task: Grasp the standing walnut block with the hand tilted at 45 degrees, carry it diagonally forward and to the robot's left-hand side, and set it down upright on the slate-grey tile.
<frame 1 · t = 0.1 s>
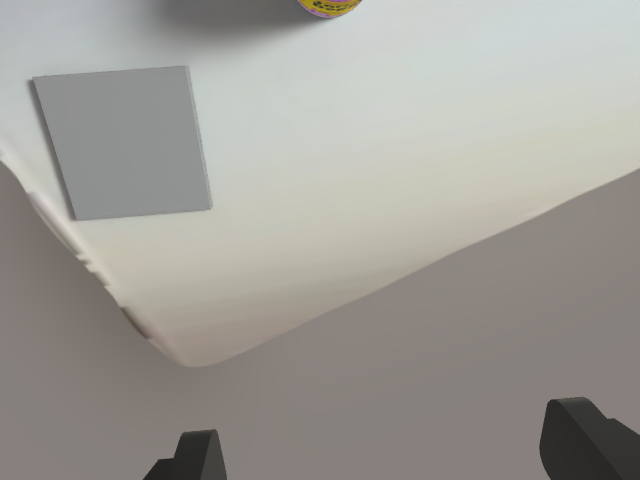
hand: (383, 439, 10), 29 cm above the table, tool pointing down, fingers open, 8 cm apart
slate tile: (132, 146, 35), on the table
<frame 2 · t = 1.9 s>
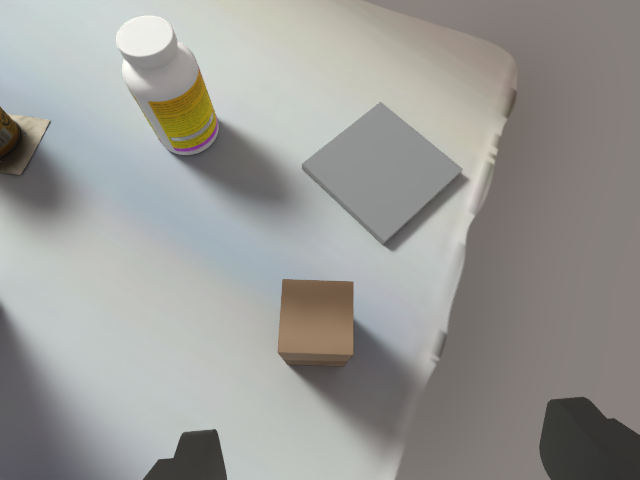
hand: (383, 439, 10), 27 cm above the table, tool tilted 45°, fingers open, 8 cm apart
condiment: (1, 143, 44), on the table
walnut block: (316, 336, 37), on the table
supplement bottle: (190, 133, 45), on the table
slate tile: (381, 171, 43), on the table
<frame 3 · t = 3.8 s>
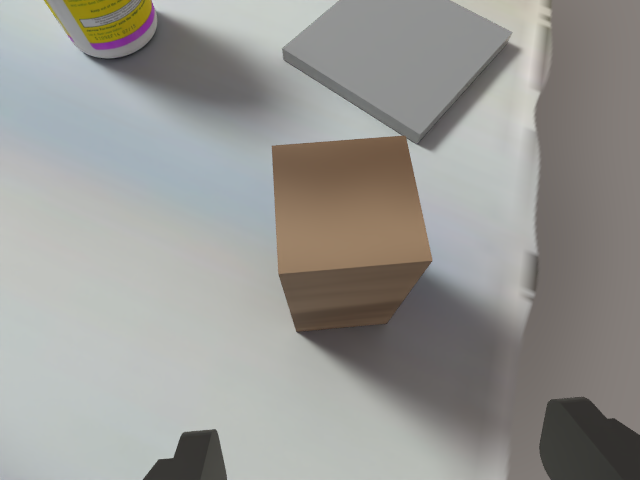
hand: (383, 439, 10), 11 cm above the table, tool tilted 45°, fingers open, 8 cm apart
walnut block: (336, 284, 23), on the table
supplement bottle: (118, 33, 31), on the table
slate tile: (396, 51, 30), on the table
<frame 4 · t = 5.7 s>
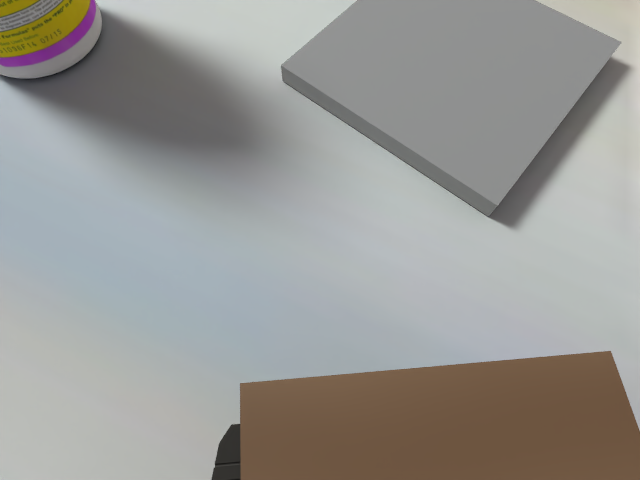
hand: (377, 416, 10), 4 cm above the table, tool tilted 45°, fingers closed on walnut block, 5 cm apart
walnut block: (370, 475, 14), on the table, touching gripper
supplement bottle: (47, 41, 22), on the table
slate tile: (447, 69, 21), on the table
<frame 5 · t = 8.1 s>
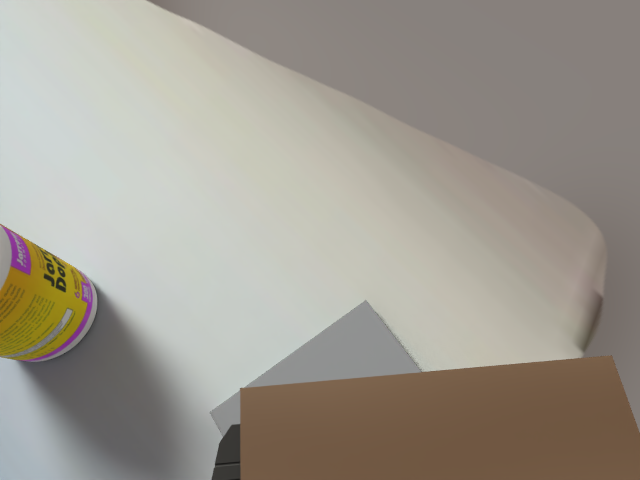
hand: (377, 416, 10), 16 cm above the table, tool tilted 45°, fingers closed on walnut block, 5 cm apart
walnut block: (370, 477, 14), point 12 cm above the table, touching gripper
supplement bottle: (54, 313, 28), on the table
slate tile: (347, 437, 25), on the table
when the fingers open (6 cm above the table, at t = 10.4 s): walnut block stays where it is, resting on slate tile.
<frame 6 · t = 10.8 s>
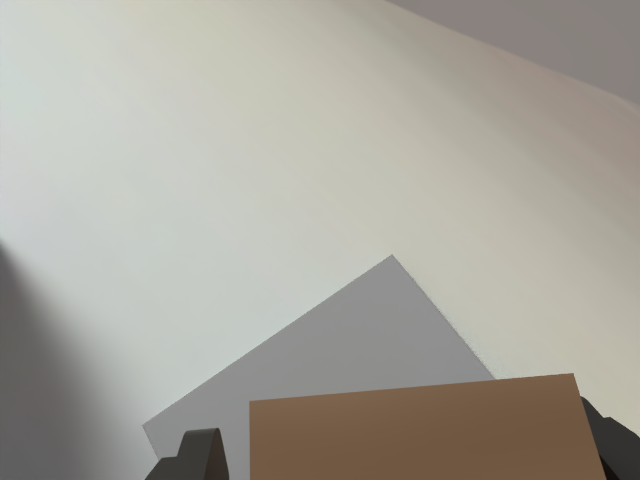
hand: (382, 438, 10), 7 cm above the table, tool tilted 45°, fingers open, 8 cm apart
walnut block: (367, 477, 14), point 1 cm above the table, touching slate tile
slate tile: (364, 467, 15), on the table
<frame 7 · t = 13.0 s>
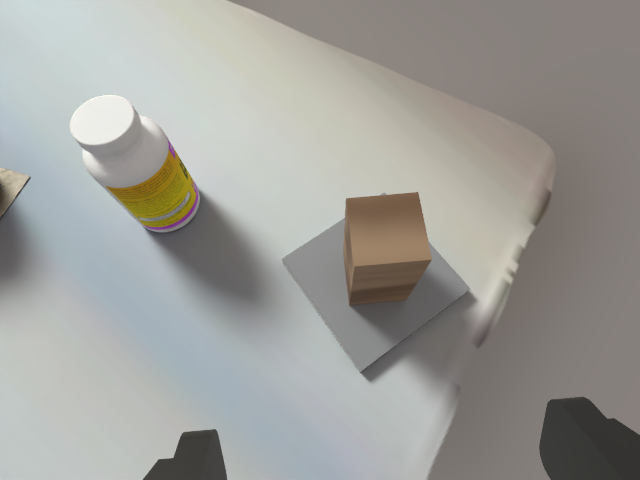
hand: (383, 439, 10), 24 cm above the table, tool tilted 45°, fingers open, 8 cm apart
walnut block: (373, 275, 36), point 1 cm above the table, touching slate tile
supplement bottle: (169, 205, 41), on the table
slate tile: (372, 277, 37), on the table
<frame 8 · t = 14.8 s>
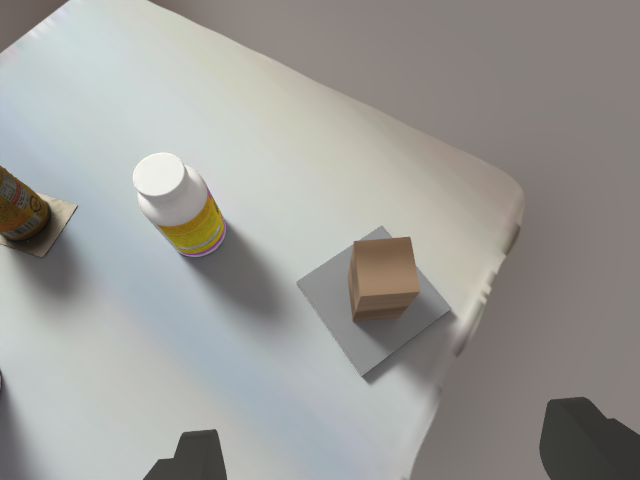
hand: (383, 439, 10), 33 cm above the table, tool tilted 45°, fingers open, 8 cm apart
condiment: (32, 222, 49), on the table
walnut block: (372, 296, 44), point 1 cm above the table, touching slate tile
supplement bottle: (199, 233, 48), on the table
slate tile: (371, 297, 45), on the table
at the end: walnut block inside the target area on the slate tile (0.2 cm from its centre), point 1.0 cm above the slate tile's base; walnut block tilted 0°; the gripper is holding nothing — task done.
